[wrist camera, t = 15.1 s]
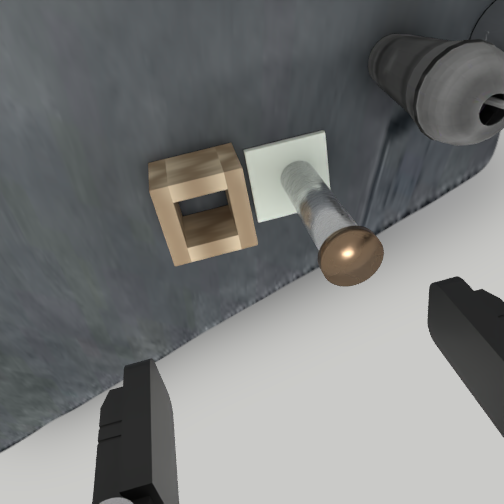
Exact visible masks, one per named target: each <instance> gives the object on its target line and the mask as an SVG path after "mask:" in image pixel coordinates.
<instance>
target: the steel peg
mask: <svg viewBox="0 0 504 504" xmlns="http://www.w3.org/2000/svg"><path fill="white" fill-rule="evenodd" d="M280 180H281V185H282V187H283V189H284V190H285V192H286V194H287V195H288V197H289V199H290V201H291V202H292V204H293V206H294V208H295V209H296V211H297V213H298V215H299V216H300V218H301V220H302V222H303V223H304V225H305V227H306V229H307V230H308V232H309V234H310V236H311V237H312V239H313V241H314V242H315V244H316V246H317V248H318V249H319V253H318V264H319V267H320V269H321V271H322V272H323V274H324V276H325V278H326V279H327V280H328V281H329V282H331V283H332V284H335V285H338V286H353V285H356V284H359V283H361V282H363V281H365V280H367V279H368V278H370V277H371V276H372V275H373V274H374V273H375V272H376V271H377V269H378V268H379V267H380V265H381V263H382V260H383V255H384V252H383V246H382V244H381V242H380V241H379V239H378V238H377V237H376V236H375V234H374V233H373V232H372V231H371V230H369V229H368V228H366V227H362V226H358V225H357V224H356V223H355V222H354V220H353V219H352V218H351V216H350V215H349V214H348V212H347V211H346V210H345V208H344V207H343V206H342V204H341V203H340V202H339V201H338V199H337V198H336V197H335V195H334V194H333V193H332V191H331V190H330V189H329V187H328V186H327V185H326V183H325V182H324V181H323V179H322V178H321V177H320V176H319V174H318V173H317V172H316V170H315V169H314V168H313V166H312V165H311V164H310V163H308V162H306V161H301V160H300V161H294V162H292V163H290V164H289V165H287V166H286V167H285V168H284V170H283V172H282V174H281V179H280Z"/></svg>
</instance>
